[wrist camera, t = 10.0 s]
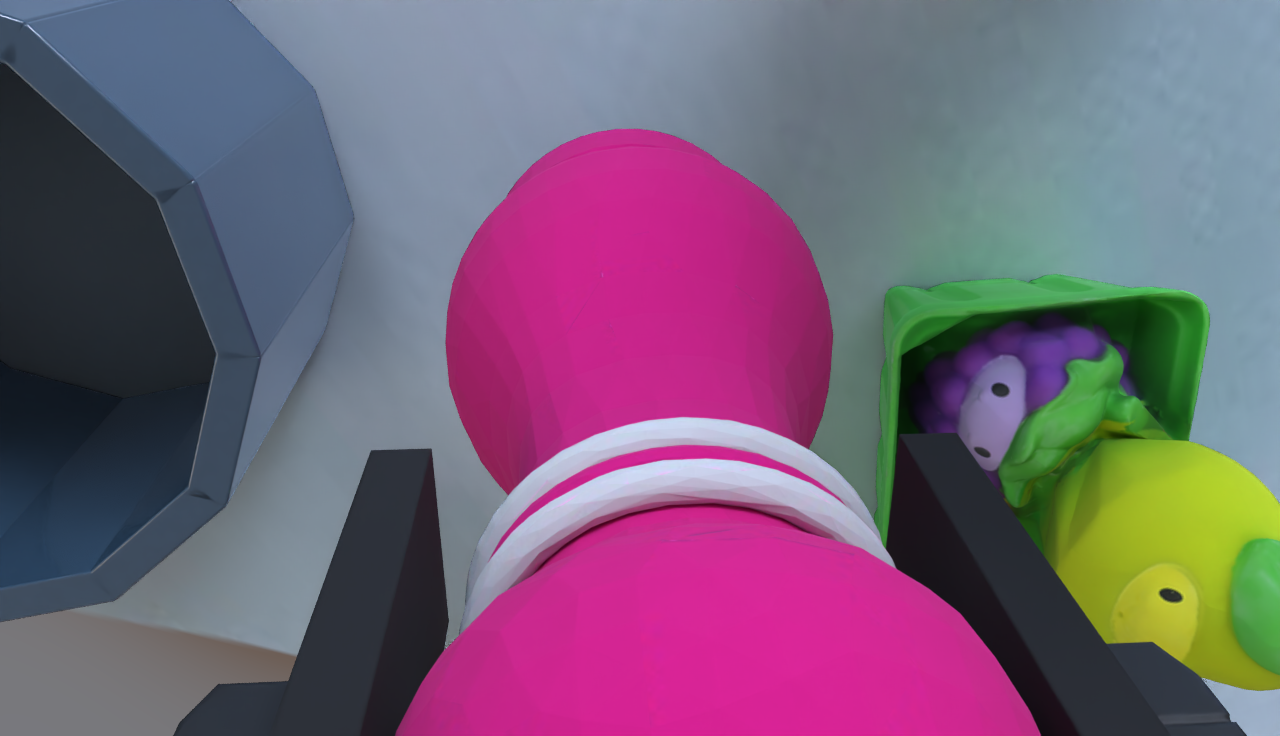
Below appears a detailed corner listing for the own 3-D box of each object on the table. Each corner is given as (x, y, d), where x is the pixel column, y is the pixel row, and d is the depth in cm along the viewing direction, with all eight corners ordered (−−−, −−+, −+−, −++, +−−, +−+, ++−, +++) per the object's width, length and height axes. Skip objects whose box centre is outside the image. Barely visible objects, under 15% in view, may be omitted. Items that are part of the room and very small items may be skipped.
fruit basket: (840, 245, 28) (994, 448, 18) (1157, 222, 28) (1487, 409, 18) (830, 584, 33) (947, 897, 23) (1101, 561, 33) (1336, 860, 23)
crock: (41, -193, 23) (-256, -239, 15) (446, 222, 27) (393, 365, 19) (-277, 175, 26) (-674, 309, 17) (137, 495, 30) (-25, 720, 22)
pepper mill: (774, 83, 22) (1747, 997, 4) (792, 385, 25) (1376, 1685, 7) (438, 126, 22) (-201, 1263, 4) (497, 423, 25) (302, 1836, 7)
